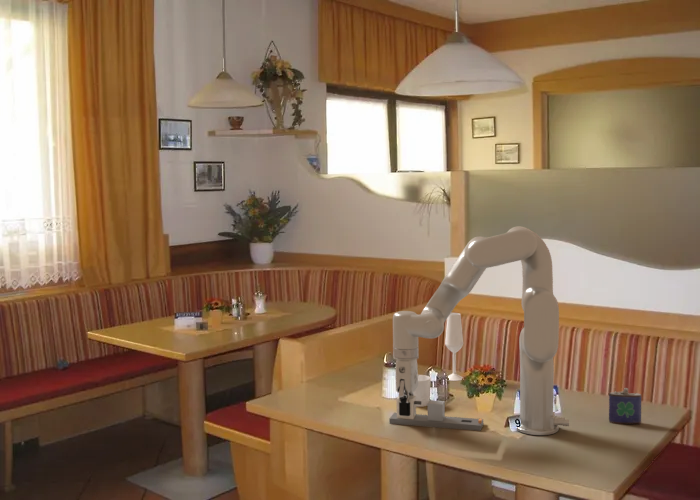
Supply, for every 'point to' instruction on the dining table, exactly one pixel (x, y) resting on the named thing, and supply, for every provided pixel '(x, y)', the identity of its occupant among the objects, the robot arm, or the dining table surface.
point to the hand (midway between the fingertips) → (406, 412)
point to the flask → (625, 407)
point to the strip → (440, 422)
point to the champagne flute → (454, 340)
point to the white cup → (422, 390)
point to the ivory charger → (412, 407)
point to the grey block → (436, 410)
